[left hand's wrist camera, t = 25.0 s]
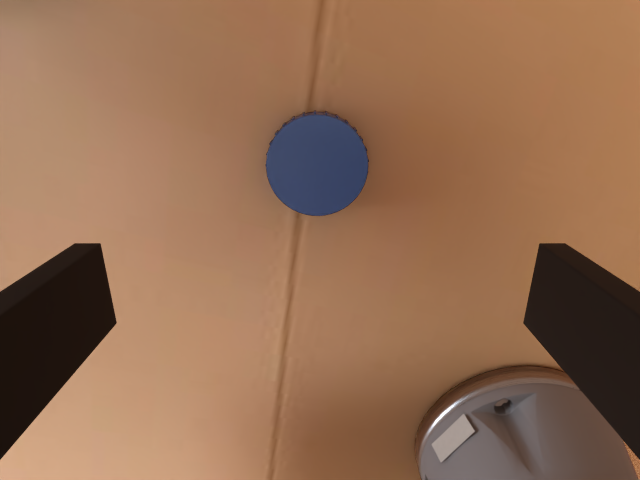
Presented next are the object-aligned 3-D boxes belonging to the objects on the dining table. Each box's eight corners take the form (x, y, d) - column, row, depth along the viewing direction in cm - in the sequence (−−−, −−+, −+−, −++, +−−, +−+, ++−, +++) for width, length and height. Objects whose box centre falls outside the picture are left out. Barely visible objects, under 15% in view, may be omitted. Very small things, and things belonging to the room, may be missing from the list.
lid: (335, 224, 26) (336, 233, 25) (251, 181, 25) (247, 187, 24) (384, 141, 25) (389, 146, 23) (296, 90, 23) (294, 92, 22)
